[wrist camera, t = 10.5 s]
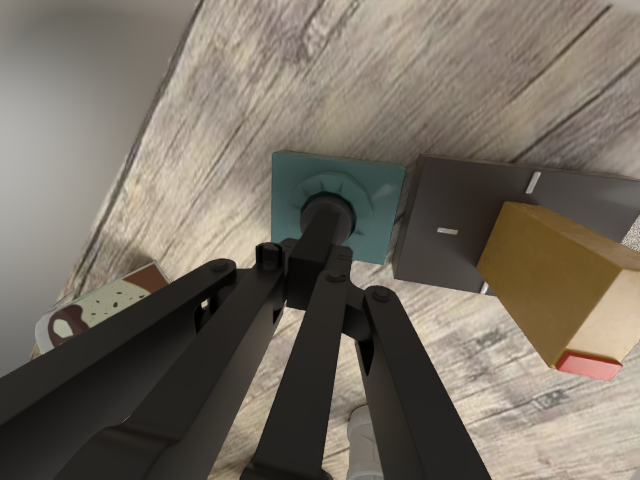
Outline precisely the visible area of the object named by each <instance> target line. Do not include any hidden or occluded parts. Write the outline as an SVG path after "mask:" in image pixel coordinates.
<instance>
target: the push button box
mask: <svg viewBox="0 0 640 480" xmlns="http://www.w3.org/2000/svg"><path fill="white" fill-rule="evenodd" d="M405 173H406V168H405V167H404V166H403V165H402V164H393V163H385V162H377V161H368V160H360V159H351V158H343V157H334V156H326V155H318V154H309V153H301V152H292V151H284V150H280V151H277V152H274V153H272V200H271V242H274V243H280V242H281V241H282V240H284V239H286V238H294V239H300V237H301V236H302V233H301V230H300V218H301V215H302V213H303V211H304V210H305V209H306V207H307V206H308V204H309V203H310V202H311V201H312V200H313V199H315V198H317V197H319V196H322V195H333V196H336V197H338V198H340V199H342V200H343V201H344V202H346V204H347V205H348V206H349V208H350V210H351V212H352V226H351V232H350V235H349V237H348V239H347V240H346V241H345V242H344V243H343V244H342V245H341V246H347V247H350V248H351V249H352V251H353V257H352V260H357V261H363V262H369V263H375V264H381V265H384V263H385V258H386V254H387V250H388V246H389V241H390V237H391V233H392V228H393V224H394V220H395V216H396V211H397V207H398V203H399V199H400V194H401V190H402V186H403V182H404V177H405Z"/></svg>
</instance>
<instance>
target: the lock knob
mask: <svg viewBox="0 0 640 480" xmlns="http://www.w3.org/2000/svg"><path fill="white" fill-rule="evenodd" d="M476 269H477V271H478V272H479V273H480V275H481V276H482V277H483V279H484V280H485V281H486V283H487V284H488V286H489V287H490V288H491V290H492V291H493V292H494V294H495V295H496V296H497V298H498V299H499V300H500V302H501V303H502V305H503V306H504V307H505V309H506V310H507V311H508V313H509V314H510V315H511V317H512V318H513V320H514V321H515V322H516V324H517V325H518V326H519V328H520V329H521V330H522V332H523V333H524V334H525V336H526V337H527V339H528V340H529V341H530V343H531V344H532V345H533V347H534V348H535V349H536V351H537V352H538V353H539V355H540V356H541V358H542V359H543V360H544V362H545V363H546V364H547V366H548V367H549V368H553V369H557V370H558V371H562V372H567V373H572V374H577V375H582V376H587V377H592V378H597V379H602V380H607V381H610V380H611V379H612V378H613V377H614V375H615V374H616V373H617V372H618V371H619V370H620V369H621V368H622V367H623V365H622V364H621V363H620V362H621V361H622V360H623V359H624V358H625V357H626V356H627V355H628V354H629V352H630V351H631V350H632V349H633V348H634V347H635V346H636V345H637V343H638V342H639V341H640V253H639V252H637V251H635V250H633V249H631V248H629V247H627V246H625V245H623V244H620V243H618V242H616V241H614V240H612V239H610V238H608V237H606V236H604V235H602V234H600V233H597V232H595V231H593V230H591V229H589V228H587V227H585V226H583V225H581V224H579V223H577V222H574V221H572V220H570V219H568V218H566V217H564V216H562V215H560V214H558V213H556V212H554V211H551V210H549V209H547V208H545V207H543V206H539V205H532V204H525V203H517V202H510V201H505V202H504V204H503V206H502V209H501V211H500V213H499V216H498V218H497V220H496V223H495V225H494V227H493V230H492V232H491V234H490V237H489V239H488V241H487V244H486V246H485V248H484V251H483V253H482V255H481V257H480V260H479V262H478V264H477V267H476Z"/></svg>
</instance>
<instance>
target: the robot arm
mask: <svg viewBox="0 0 640 480" xmlns="http://www.w3.org/2000/svg"><path fill="white" fill-rule="evenodd" d="M340 214H341V213H337V212H330V211H323V210H317V212H316V214H315V215H314V217H313V218H312V220H311V222H310V223H309V225H308V226H307V228H306V230H305V231H304V233H303V234H302V236H301V237H300V239H294V238H286V239H284V240H282V241H281V242H280V243H274V242H266V243H261V244H259V245H257V246H256V264H255V265H254V266H253V267H252V268H248V269H237V268H236V263H235V262H234V261H232V260H230V259H225V258H223V259H222V258H219V259H215V260H212V261H209V262H207V263H206V264H204V265H202V266H200V267H198V268H197V269H195V270H193V271H191V272H189V273H188V274H186V275H184V276H182V277H180V278H179V279H177V280H175V281H173V282H172V283H170V284H168V285H166V286H164V287H163V288H161V289H159V290H157V291H155V292H154V293H152V294H150V295H148V296H146V297H145V298H143V299H141V300H139V301H137V302H136V303H134V304H132V305H130V306H129V307H127V308H125V309H123V310H121V311H120V312H118V313H116V314H114V315H112V316H111V317H109V318H107V319H105V320H103V321H102V322H100V323H98V324H96V325H95V326H93V327H91V328H89V329H87V330H86V331H84V332H82V333H80V334H78V335H77V336H75V337H73V338H71V339H69V340H68V341H66V342H64V343H62V344H61V345H59V346H57V347H55V348H53V349H52V350H50V351H48V352H46V353H44V354H43V355H41V356H39V357H37V358H35V359H34V360H32V361H30V362H28V363H27V364H25V365H23V366H21V367H19V368H18V369H16V370H14V371H12V372H10V373H9V374H7V375H5V376H3V377H1V378H0V480H207V478H208V476H209V473H210V471H211V469H212V467H213V465H214V463H215V460H216V458H217V456H218V454H219V452H220V450H221V447H222V445H223V443H224V441H225V439H226V437H227V434H228V432H229V430H230V428H231V426H232V424H233V421H234V419H235V417H236V415H237V413H238V411H239V408H240V406H241V404H242V402H243V400H244V398H245V395H246V393H247V391H248V389H249V387H250V384H251V382H252V380H253V378H254V376H255V374H256V371H257V369H258V367H259V365H260V363H261V361H262V358H263V356H264V354H265V352H266V350H267V348H268V345H269V343H270V341H271V339H272V337H273V335H274V332H275V330H276V328H277V326H278V324H279V322H280V319H281V317H282V315H283V308H284V303H285V301H286V299H287V303H286V307H289V308H294V309H299V310H304V311H306V312H305V315H304V318H303V321H302V323H301V326H300V329H299V332H298V335H297V337H296V340H295V343H294V346H293V349H292V351H291V354H290V357H289V360H288V363H287V365H286V368H285V371H284V374H283V377H282V379H281V382H280V385H279V388H278V391H277V393H276V396H275V399H274V402H273V405H272V407H271V410H270V413H269V416H268V419H267V421H266V424H265V427H264V430H263V433H262V435H261V438H260V441H259V444H258V447H257V449H256V452H255V454H254V457H253V459H252V461H251V463H249V464H248V465H247V466H246V467H245V469H244V471H243V473H242V475H241V476H240V479H239V480H320V474H321V468H322V461H323V454H324V447H325V441H326V434H327V427H328V421H329V414H330V407H331V400H332V394H333V387H334V380H335V374H336V367H337V360H338V353H339V347H340V340H341V333H343V334H345V335H347V336H349V337H351V338H353V339H355V348H356V352H357V357H358V361H359V366H360V371H361V375H362V380H363V385H364V389H365V394H366V398H367V403H368V408H369V412H370V417H371V421H372V426H373V431H374V435H375V440H376V444H377V449H378V454H379V458H380V463H381V467H382V472H383V477H384V480H492V479H491V477H490V475H489V473H488V471H487V469H486V467H485V465H484V463H483V461H482V459H481V457H480V455H479V453H478V452H477V450H476V448H475V446H474V444H473V442H472V440H471V438H470V436H469V434H468V432H467V430H466V428H465V426H464V424H463V422H462V420H461V418H460V417H459V415H458V413H457V411H456V409H455V407H454V405H453V403H452V401H451V399H450V397H449V395H448V393H447V391H446V389H445V387H444V385H443V383H442V382H441V380H440V378H439V376H438V374H437V372H436V370H435V368H434V366H433V364H432V362H431V360H430V358H429V356H428V354H427V352H426V350H425V348H424V347H423V345H422V343H421V341H420V339H419V337H418V335H417V333H416V331H415V329H414V327H413V325H412V323H411V321H410V319H409V317H408V315H407V313H406V312H405V310H404V308H403V306H402V304H401V302H400V300H399V298H398V296H397V295H396V294H395V292H393V291H392V290H390V289H389V288H386V287H384V286H378V285H376V286H370V287H368V288H366V290H363V289H360V288H358V287H356V286H355V285H354V284H353V283H352V282H351V280H350V271H351V264H352V257H353V251H352V249H351V248H350V247H347V246H341V245H336V244H337V237H338V229H339V222H340ZM205 300H207V302H208V305H207V306H205V307H203V308H202V307H201V303H202V302H204V301H205ZM130 414H131V415H130ZM129 415H130V416H129ZM128 416H129V417H128ZM127 417H128V418H127ZM126 418H127V419H126ZM125 419H126V420H125ZM124 420H125V421H124ZM123 421H124V422H123ZM122 422H123V423H122ZM119 424H120V425H119Z"/></svg>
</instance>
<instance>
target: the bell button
mask: <svg viewBox="0 0 640 480" xmlns="http://www.w3.org/2000/svg"><path fill="white" fill-rule="evenodd" d="M317 210H323V211H330V212H337V213H341V214H340V222H339V229H338V237H337V244H336V245H342V244H343V243H344V242H345V241H346V240H347V239H348V237H349V235H350V232H351V226H352V212H351V210H350V208H349V206H348V205H347V204H346V202H344V201H343V200H342V199H340V198H338V197H336V196H333V195H322V196H319V197H317V198H315V199H313V200H312V201H311V202H310V203H309V204H308V206H307V207H306V209H305V210H304V211H303V213H302V215H301V218H300V230H301V233H302V234H303V233H304V231H305V230H306V228H307V226H308V225H309V223H310V222H311V220H312V218H313V217H314V215H315V214H316V212H317Z"/></svg>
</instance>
